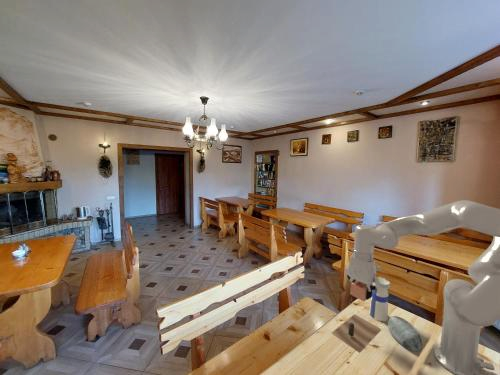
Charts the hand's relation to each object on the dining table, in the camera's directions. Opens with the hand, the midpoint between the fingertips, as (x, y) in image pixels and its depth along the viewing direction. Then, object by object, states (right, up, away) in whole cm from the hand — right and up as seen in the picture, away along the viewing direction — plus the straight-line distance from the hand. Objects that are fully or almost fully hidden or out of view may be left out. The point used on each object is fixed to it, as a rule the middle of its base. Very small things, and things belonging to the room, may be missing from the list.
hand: (360, 294), depth 91 cm
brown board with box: (-1, -18, 0) cm, 18 cm away
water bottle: (+14, -17, +10) cm, 24 cm away
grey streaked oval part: (+16, -19, -3) cm, 25 cm away
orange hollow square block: (0, -1, 0) cm, 1 cm away
